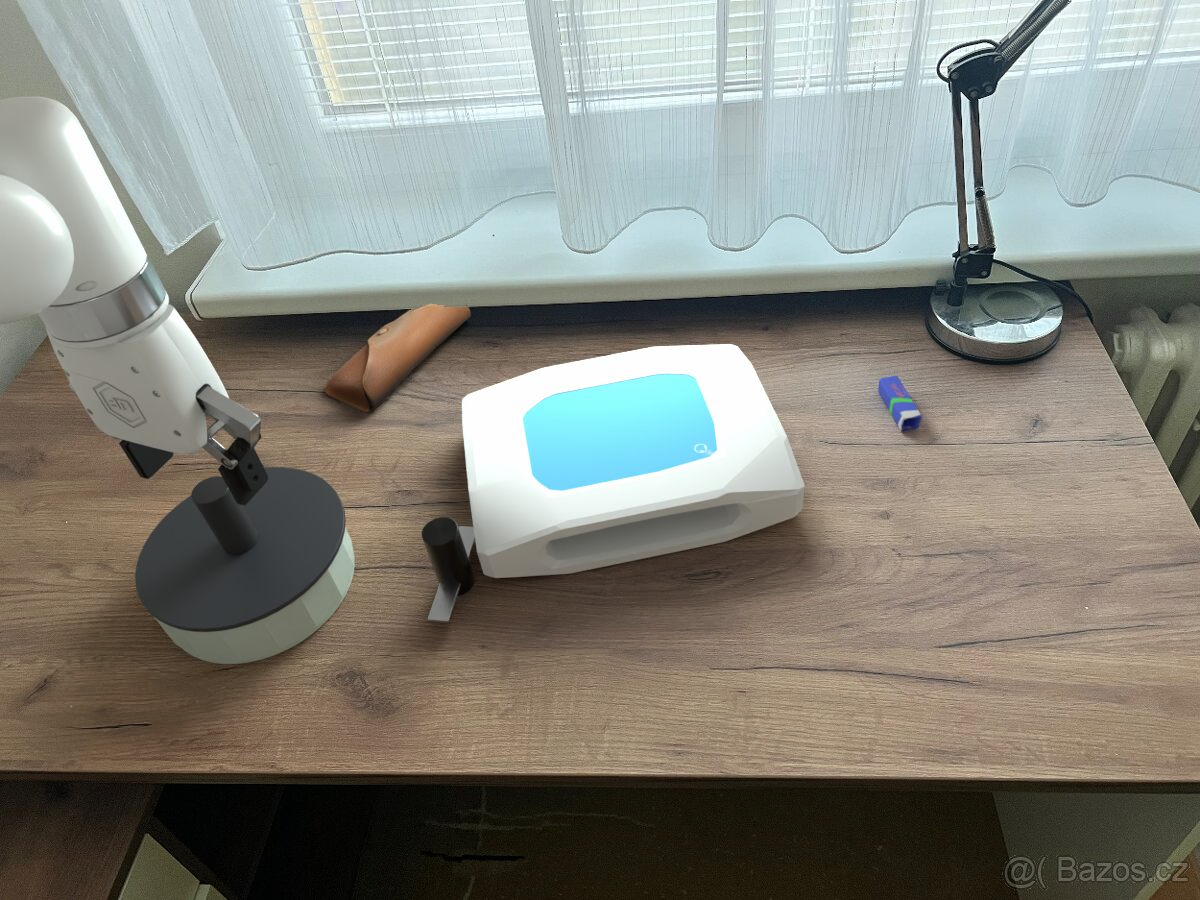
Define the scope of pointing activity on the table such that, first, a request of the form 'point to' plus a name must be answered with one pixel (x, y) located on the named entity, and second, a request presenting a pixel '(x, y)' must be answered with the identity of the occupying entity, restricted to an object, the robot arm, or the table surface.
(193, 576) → the lid
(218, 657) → the bowl
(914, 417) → the eraser
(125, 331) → the robot arm
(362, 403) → the sunglasses case
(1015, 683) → the table surface
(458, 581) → the blade
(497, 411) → the document scanner
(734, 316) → the table surface
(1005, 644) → the table surface
